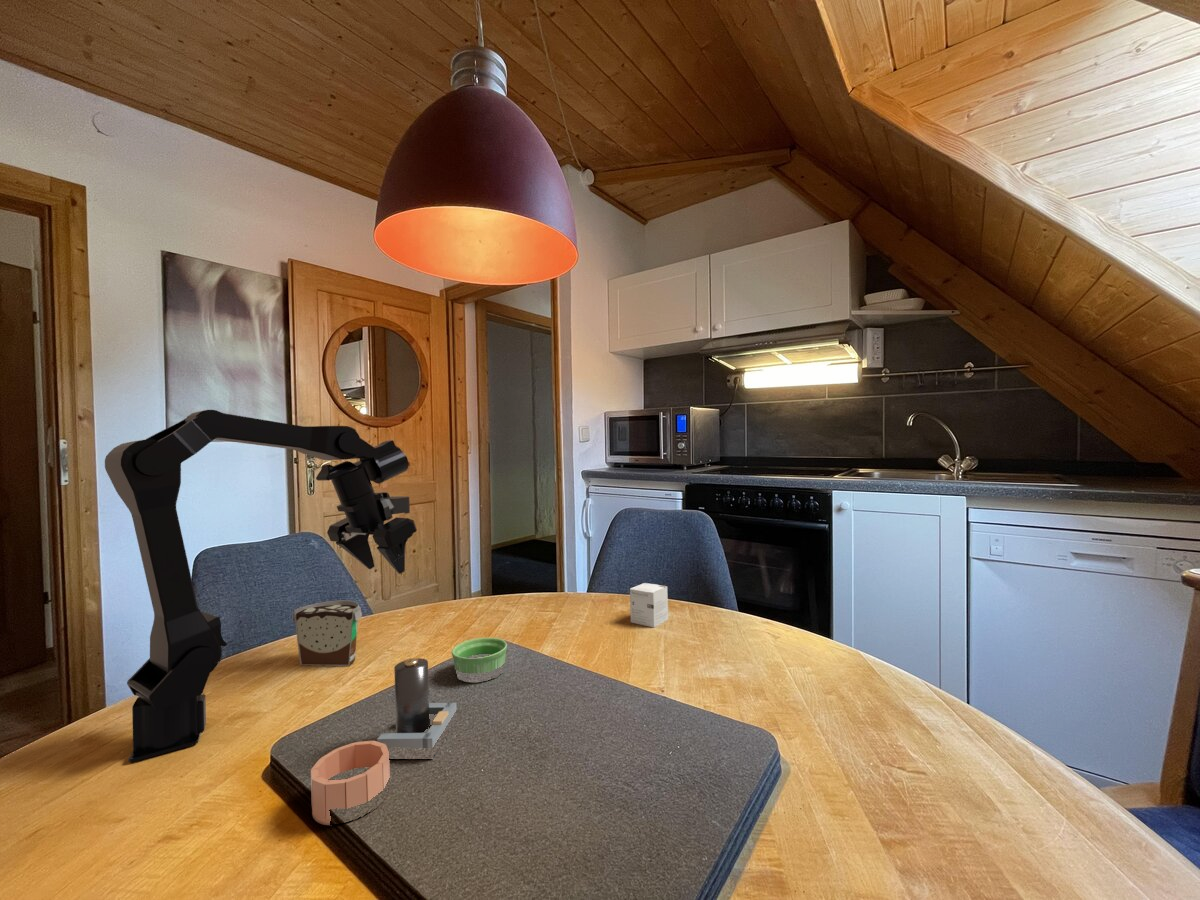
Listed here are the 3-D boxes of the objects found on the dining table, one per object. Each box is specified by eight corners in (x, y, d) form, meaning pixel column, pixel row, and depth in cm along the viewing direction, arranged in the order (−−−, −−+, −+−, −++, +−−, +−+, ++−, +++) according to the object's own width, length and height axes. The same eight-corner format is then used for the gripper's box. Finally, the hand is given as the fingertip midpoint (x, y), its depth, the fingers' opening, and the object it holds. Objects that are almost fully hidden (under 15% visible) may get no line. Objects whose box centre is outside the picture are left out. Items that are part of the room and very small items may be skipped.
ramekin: (450, 667, 83) (450, 642, 83) (503, 658, 86) (502, 634, 86) (454, 690, 75) (453, 662, 75) (512, 679, 78) (511, 652, 78)
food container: (377, 652, 91) (375, 599, 91) (357, 666, 85) (356, 609, 85) (316, 652, 92) (314, 599, 92) (292, 665, 86) (291, 609, 86)
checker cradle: (377, 760, 57) (377, 735, 57) (408, 721, 66) (408, 700, 66) (432, 759, 57) (432, 735, 57) (456, 721, 65) (456, 699, 66)
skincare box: (630, 623, 102) (628, 588, 103) (645, 615, 107) (643, 582, 107) (654, 628, 99) (653, 592, 99) (669, 619, 104) (667, 585, 104)
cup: (315, 836, 46) (314, 794, 46) (309, 795, 52) (308, 757, 52) (395, 803, 50) (394, 764, 50) (382, 768, 56) (381, 733, 56)
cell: (400, 753, 59) (398, 670, 59) (393, 738, 62) (391, 660, 62) (433, 741, 61) (431, 661, 61) (425, 727, 64) (423, 652, 64)
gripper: (425, 476, 87) (452, 551, 92) (365, 477, 97) (391, 545, 101) (373, 502, 78) (404, 585, 83) (312, 501, 88) (343, 574, 93)
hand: (386, 570), depth 90 cm, fingers open, 9 cm apart
